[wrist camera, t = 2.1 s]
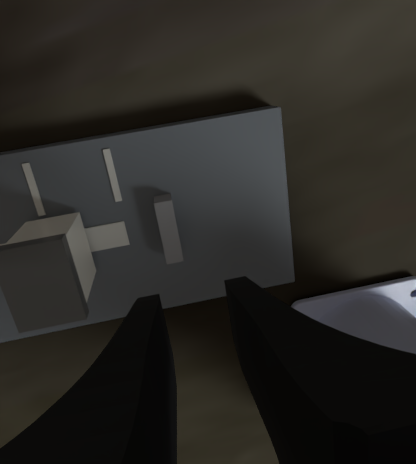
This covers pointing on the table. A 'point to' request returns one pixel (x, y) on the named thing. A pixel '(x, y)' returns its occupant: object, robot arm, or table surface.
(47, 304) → the fader tab
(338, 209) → the table surface
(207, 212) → the console
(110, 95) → the table surface
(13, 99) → the table surface
